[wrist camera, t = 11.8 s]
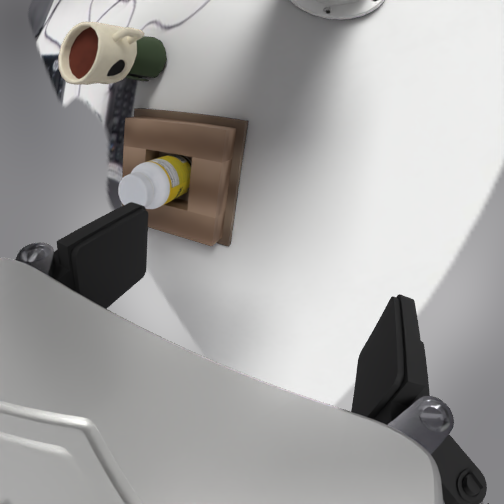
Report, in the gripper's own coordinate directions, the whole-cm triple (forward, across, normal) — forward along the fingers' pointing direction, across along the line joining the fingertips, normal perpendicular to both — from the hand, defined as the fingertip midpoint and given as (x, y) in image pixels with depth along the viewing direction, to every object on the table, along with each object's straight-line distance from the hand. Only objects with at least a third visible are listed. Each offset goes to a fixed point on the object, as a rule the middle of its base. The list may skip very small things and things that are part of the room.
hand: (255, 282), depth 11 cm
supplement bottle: (+26, +18, +6) cm, 32 cm away
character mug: (+27, +26, -8) cm, 38 cm away
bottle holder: (+26, +18, +6) cm, 33 cm away
